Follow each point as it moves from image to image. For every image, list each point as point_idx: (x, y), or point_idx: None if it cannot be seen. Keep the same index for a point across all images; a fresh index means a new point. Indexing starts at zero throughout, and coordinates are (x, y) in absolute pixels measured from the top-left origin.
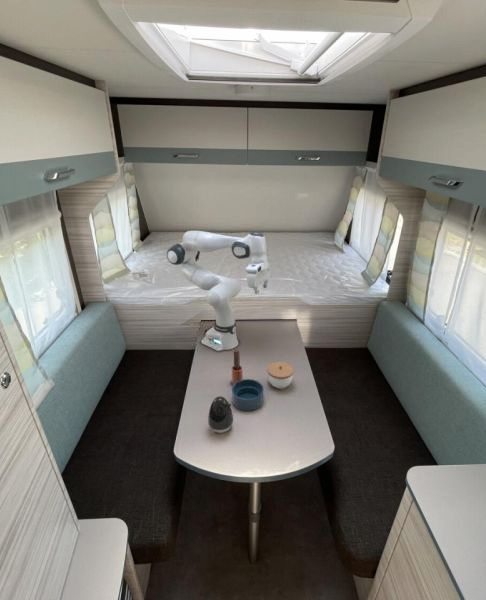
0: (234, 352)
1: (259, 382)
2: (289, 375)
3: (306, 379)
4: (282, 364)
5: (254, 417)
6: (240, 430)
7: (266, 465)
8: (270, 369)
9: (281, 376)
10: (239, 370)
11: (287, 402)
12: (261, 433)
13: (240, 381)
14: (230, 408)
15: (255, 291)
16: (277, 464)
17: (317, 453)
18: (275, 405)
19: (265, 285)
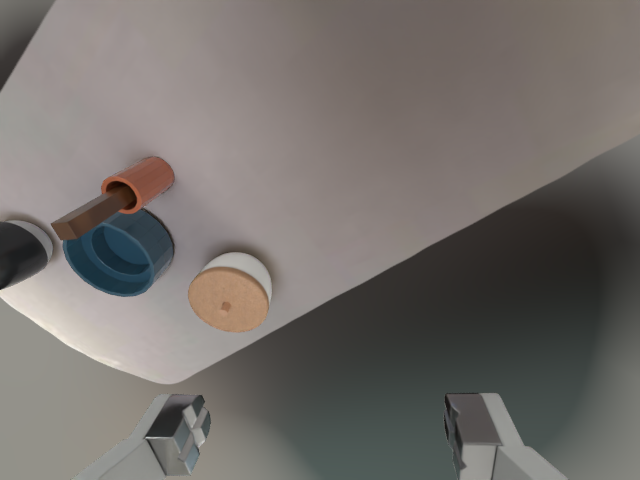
0: (56, 225)
1: (153, 272)
2: (223, 330)
3: (307, 309)
4: (248, 301)
5: None
6: (70, 271)
7: (70, 335)
8: (202, 285)
9: (202, 318)
10: (120, 211)
11: None
12: (102, 304)
13: (111, 227)
14: (7, 285)
15: (142, 435)
16: (87, 345)
17: (153, 376)
18: (178, 292)
19: (457, 465)
